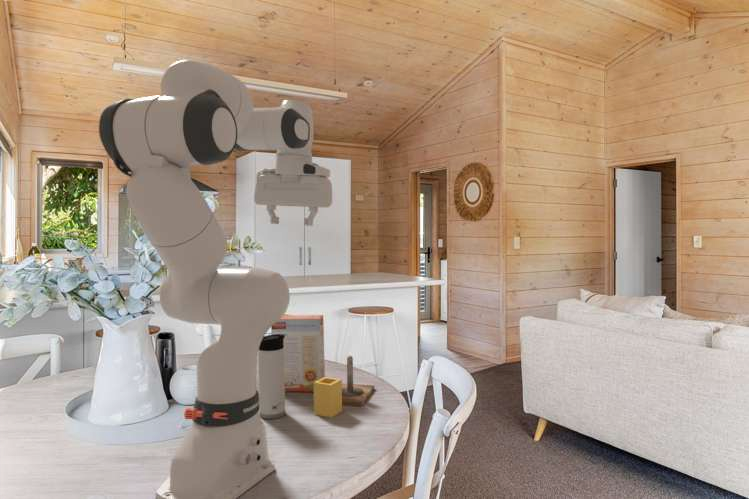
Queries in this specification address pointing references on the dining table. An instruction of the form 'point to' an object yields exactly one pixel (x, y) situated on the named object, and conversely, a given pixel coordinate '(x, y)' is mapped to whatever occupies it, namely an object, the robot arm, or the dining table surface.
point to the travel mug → (271, 377)
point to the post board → (354, 388)
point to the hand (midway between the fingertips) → (291, 224)
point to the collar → (327, 397)
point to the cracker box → (302, 350)
